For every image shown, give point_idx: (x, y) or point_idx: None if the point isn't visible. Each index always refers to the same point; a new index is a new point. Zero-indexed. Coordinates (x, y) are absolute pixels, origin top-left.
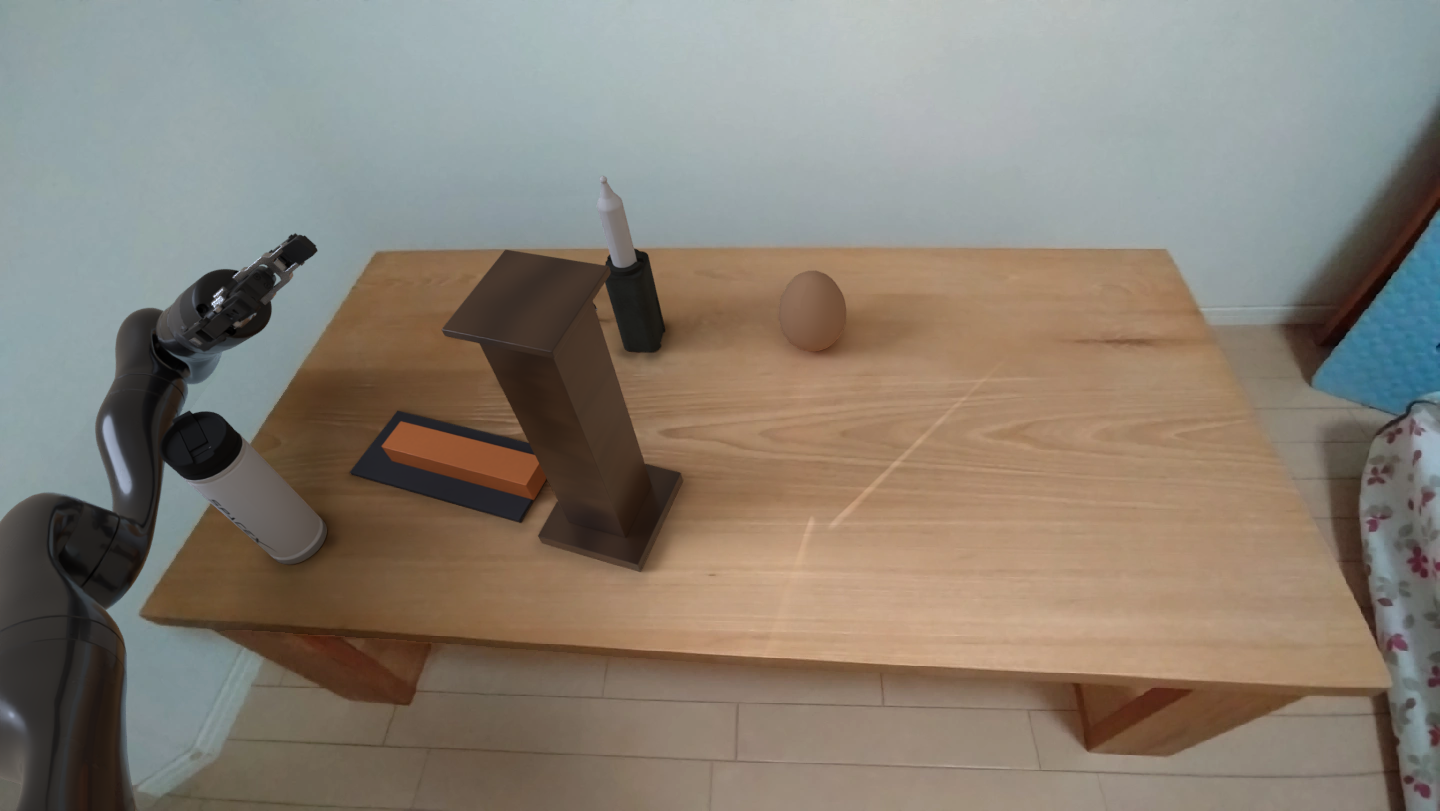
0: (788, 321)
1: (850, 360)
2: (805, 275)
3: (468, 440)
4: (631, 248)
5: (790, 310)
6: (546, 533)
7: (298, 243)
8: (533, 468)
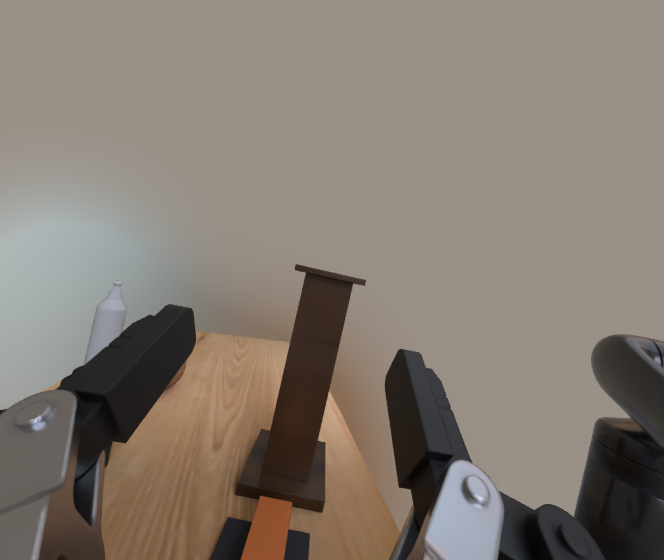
0: None
1: (180, 380)
2: None
3: None
4: None
5: None
6: (320, 495)
7: (184, 324)
8: (273, 500)
